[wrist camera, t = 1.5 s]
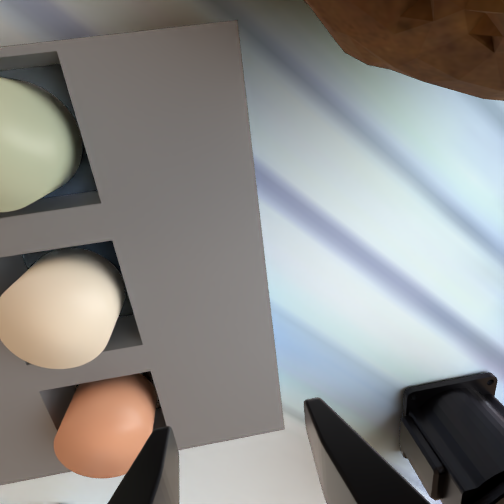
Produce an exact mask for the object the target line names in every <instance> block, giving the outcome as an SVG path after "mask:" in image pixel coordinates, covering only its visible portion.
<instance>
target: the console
mask: <svg viewBox="0 0 504 504" xmlns="http://www.w3.org/2000/svg"><path fill="white" fill-rule="evenodd" d="M55 64H61V68H62V71H63V74H64V78H65V81H66V85H67V88H68V91H69V95H70V98H71V102H72V105H73V109H74V112H75V115H76V119H77V122H78V126H79V129H80V132H81V136H82V139H83V143H84V146H85V149H86V153H87V156H88V160H89V163H90V166H91V170H92V173H93V177H94V180H95V183H96V187H97V190H98V191H91V192H84V193H77V194H70V195H63V196H56V197H49V198H42V199H38V200H37V201H35V202H33V203H31V204H29V205H28V206H26V207H24V208H21V209H18V210H14V211H10V212H0V297H1V295H2V294H3V293H4V292H5V291H6V290H7V289H8V288H9V287H10V286H11V285H12V284H13V283H14V282H15V281H17V280H18V279H19V278H20V277H21V276H22V275H23V274H24V273H25V272H26V271H27V270H28V269H27V267H26V264H25V262H24V259H23V257H22V254H26V253H33V252H39V251H46V250H52V249H59V248H66V247H72V246H79V245H85V244H92V243H98V242H105V241H111V240H112V241H113V245H114V248H115V252H116V255H117V258H118V262H119V265H120V269H121V272H122V275H123V279H124V282H125V286H126V289H127V292H128V296H129V299H130V303H131V306H132V309H133V313H134V315H129V316H123V317H118V319H117V321H116V324H115V326H114V329H113V331H112V334H111V336H110V339H109V341H108V343H107V345H106V347H105V349H104V350H103V351H102V352H101V353H100V354H99V355H98V356H97V357H96V358H95V359H93V360H92V361H90V362H88V363H86V364H84V365H81V366H78V367H74V368H68V369H49V368H44V367H40V366H36V365H33V364H31V363H28V362H26V361H24V360H22V359H20V358H19V357H17V356H16V355H14V354H13V353H12V352H11V351H10V350H9V349H8V348H7V347H6V346H5V345H4V344H3V342H2V341H1V340H0V485H4V484H9V483H14V482H19V481H24V480H30V479H35V478H40V477H45V476H50V475H55V474H60V473H65V472H70V471H71V470H69V469H68V468H66V467H65V466H64V465H63V464H62V463H61V462H60V461H59V460H58V458H57V456H56V454H55V451H54V439H55V436H56V434H57V431H58V429H59V427H60V425H61V422H62V420H63V418H64V416H65V413H66V411H67V409H68V407H69V405H70V402H71V400H72V398H73V396H74V393H75V391H76V387H75V385H76V384H82V383H87V382H93V381H99V380H104V379H110V378H115V377H121V376H126V375H132V374H137V373H143V372H148V371H151V374H152V378H153V381H154V384H155V388H156V391H157V395H158V398H159V401H160V405H161V409H156V411H155V418H154V424H153V430H154V429H156V428H160V427H166V426H170V427H171V428H172V430H173V433H174V437H175V440H176V444H177V447H178V450H182V449H187V448H192V447H197V446H202V445H207V444H212V443H218V442H223V441H228V440H233V439H238V438H243V437H248V436H253V435H258V434H263V433H268V432H273V431H279V430H284V420H283V411H282V403H281V394H280V385H279V377H278V368H277V360H276V351H275V342H274V334H273V325H272V316H271V308H270V299H269V290H268V282H267V273H266V264H265V256H264V247H263V238H262V230H261V221H260V212H259V204H258V195H257V186H256V178H255V169H254V160H253V152H252V143H251V134H250V126H249V117H248V108H247V100H246V91H245V82H244V74H243V65H242V56H241V48H240V39H239V30H238V22H237V20H233V21H224V22H215V23H206V24H198V25H189V26H180V27H171V28H162V29H154V30H145V31H136V32H127V33H118V34H110V35H101V36H92V37H83V38H75V39H66V40H57V41H48V42H39V43H31V44H22V45H13V46H4V47H0V71H4V70H12V69H21V68H29V67H38V66H46V65H55ZM153 430H152V431H153Z"/></svg>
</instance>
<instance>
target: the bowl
mask: <svg viewBox="0 0 504 504" xmlns="http://www.w3.org/2000/svg"><path fill="white" fill-rule="evenodd" d="M304 1H305V2H306V3H307V4H308V5H309V6H310V8H311V9H312V10H313V12H314V13H315V14H316V16H317V17H318V18H319V20H320V21H321V22H322V24H323V25H324V26H325V28H326V29H327V30H328V32H329V33H330V34H331V36H332V37H333V38H334V40H335V41H336V42H337V43H338V45H339V46H340V47H341V48H342V50H343V51H344V52H345V53H347V54H349V55H350V56H352V57H354V58H356V59H358V60H360V61H362V62H364V63H365V64H367V65H371V66H376V67H381V68H386V69H391V70H393V71H396V72H399V73H402V74H404V75H407V76H410V77H413V78H415V79H418V80H421V81H424V82H427V83H430V84H434V85H437V86H441V87H444V88H448V89H451V90H455V91H458V92H462V93H465V94H468V95H472V96H475V97H479V98H482V99H491V100H502V101H504V0H304Z"/></svg>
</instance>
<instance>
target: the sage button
mask: <svg viewBox="0 0 504 504" xmlns="http://www.w3.org/2000/svg"><path fill="white" fill-rule="evenodd" d="M81 157H82V139H81V135H80V131H79V128H78V126H77V123H76V121H75V119H74V118H73V116H72V114H71V113H70V111H69V110H68V109H67V108H66V106H65V105H64V104H63V103H62V102H61V101H60V100H59V99H58V98H57V97H55V96H54V95H53V94H52V93H50V92H49V91H47V90H45V89H44V88H42V87H40V86H38V85H35V84H32V83H30V82H26V81H21V80H15V79H8V78H1V77H0V212H10V211H14V210H18V209H21V208H24V207H26V206H28V205H29V204H31V203H33V202H35V201H37V200H38V199H40V198H42V197H44V196H45V195H47V194H49V193H51V192H53V191H54V190H56V189H58V188H60V187H61V186H63V185H64V184H66V183H67V182H68V181H69V180H70V179H71V178H72V177H73V176H74V174H75V173H76V171H77V169H78V167H79V164H80V161H81Z"/></svg>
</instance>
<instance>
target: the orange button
mask: <svg viewBox="0 0 504 504" xmlns="http://www.w3.org/2000/svg"><path fill="white" fill-rule="evenodd" d="M156 405H157V393H156V390H155V388H154V386H153V384H152V383H151V382H150V381H149V380H148V379H147V378H146V377H145V376H143V375H142V374H140V373H137V374H132V375H126V376H121V377H115V378H110V379H104V380H99V381H93V382H87V383H82V384H79V385H78V387H77V389H76V391H75V393H74V396H73V398H72V400H71V402H70V405H69V407H68V409H67V411H66V413H65V416H64V418H63V420H62V422H61V425H60V427H59V429H58V431H57V434H56V436H55V439H54V451H55V454H56V456H57V458H58V460H59V461H60V462H61V463H62V464H63V465H64V466H65V467H66V468H68V469H69V470H71V471H73V472H75V473H77V474H79V475H83V476H86V477H91V478H112V477H117V476H121V475H124V474H126V473H127V472H128V470H129V468H130V467H131V465H132V464H133V462H134V460H135V459H136V457H137V455H138V454H139V452H140V451H141V449H142V447H143V446H144V444H145V443H146V441H147V439H148V438H149V436H150V434H151V433H152V430H153V424H154V418H155V411H156Z"/></svg>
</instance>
